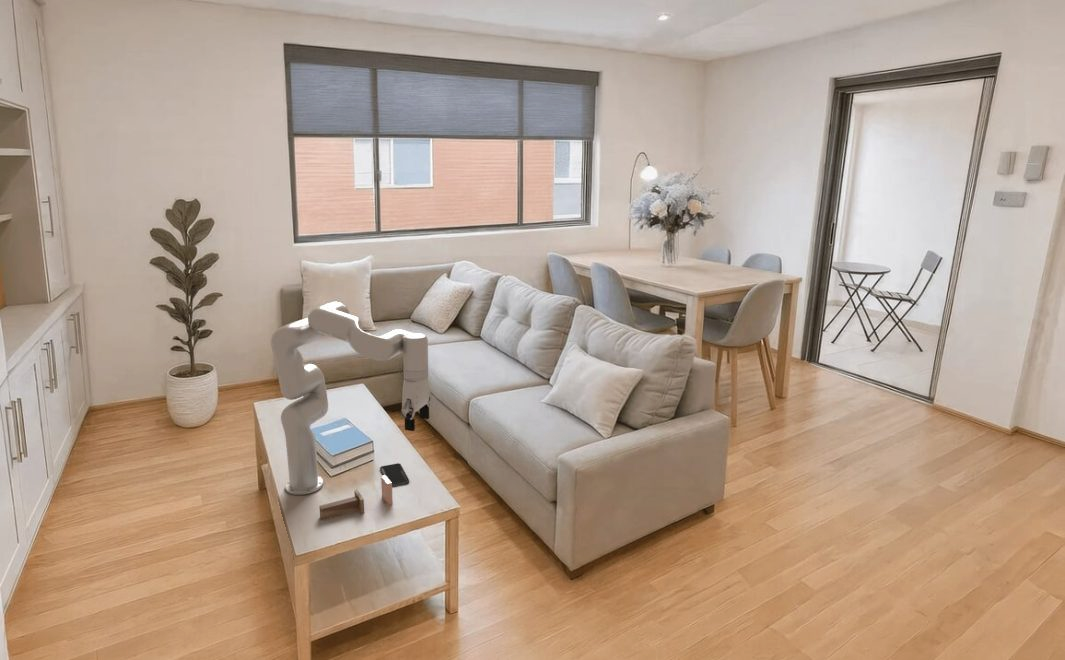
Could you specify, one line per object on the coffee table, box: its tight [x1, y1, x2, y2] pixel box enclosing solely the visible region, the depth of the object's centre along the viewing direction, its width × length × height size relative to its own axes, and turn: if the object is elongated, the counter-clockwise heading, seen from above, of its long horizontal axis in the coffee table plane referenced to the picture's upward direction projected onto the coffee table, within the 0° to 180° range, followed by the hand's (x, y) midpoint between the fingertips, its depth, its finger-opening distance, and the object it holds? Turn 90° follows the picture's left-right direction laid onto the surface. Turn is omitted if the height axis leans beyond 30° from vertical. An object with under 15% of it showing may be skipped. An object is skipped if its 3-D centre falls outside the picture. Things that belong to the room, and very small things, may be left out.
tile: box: [380, 475, 394, 506], centre depth 211 cm, size 6×2×8 cm, turn 32°
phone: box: [379, 463, 410, 488], centre depth 229 cm, size 8×1×15 cm
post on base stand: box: [318, 489, 365, 521], centre depth 204 cm, size 7×13×5 cm, turn 122°
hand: (417, 424), depth 198 cm, fingers open, 9 cm apart
